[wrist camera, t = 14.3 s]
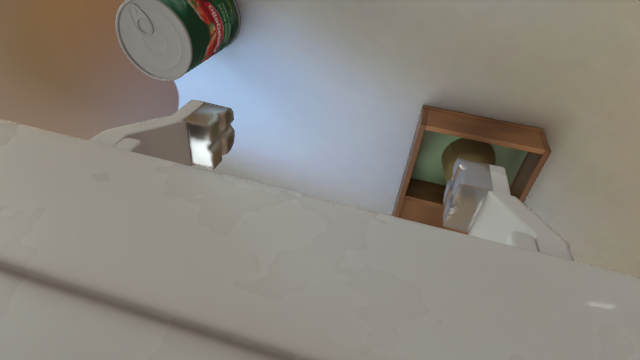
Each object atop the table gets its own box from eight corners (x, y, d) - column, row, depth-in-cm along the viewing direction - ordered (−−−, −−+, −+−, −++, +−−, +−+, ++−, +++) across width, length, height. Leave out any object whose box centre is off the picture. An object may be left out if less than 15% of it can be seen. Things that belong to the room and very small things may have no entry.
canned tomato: (252, 33, 45) (206, 66, 36) (203, 57, 48) (150, 92, 40) (216, -37, 41) (155, -20, 33) (165, -6, 45) (99, 17, 36)
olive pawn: (503, 170, 46) (515, 234, 37) (452, 186, 49) (453, 247, 40) (485, 129, 43) (493, 186, 35) (433, 147, 46) (429, 205, 38)
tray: (542, 128, 42) (551, 151, 39) (479, 251, 55) (481, 277, 51) (422, 104, 44) (420, 124, 41) (388, 228, 57) (384, 252, 53)
